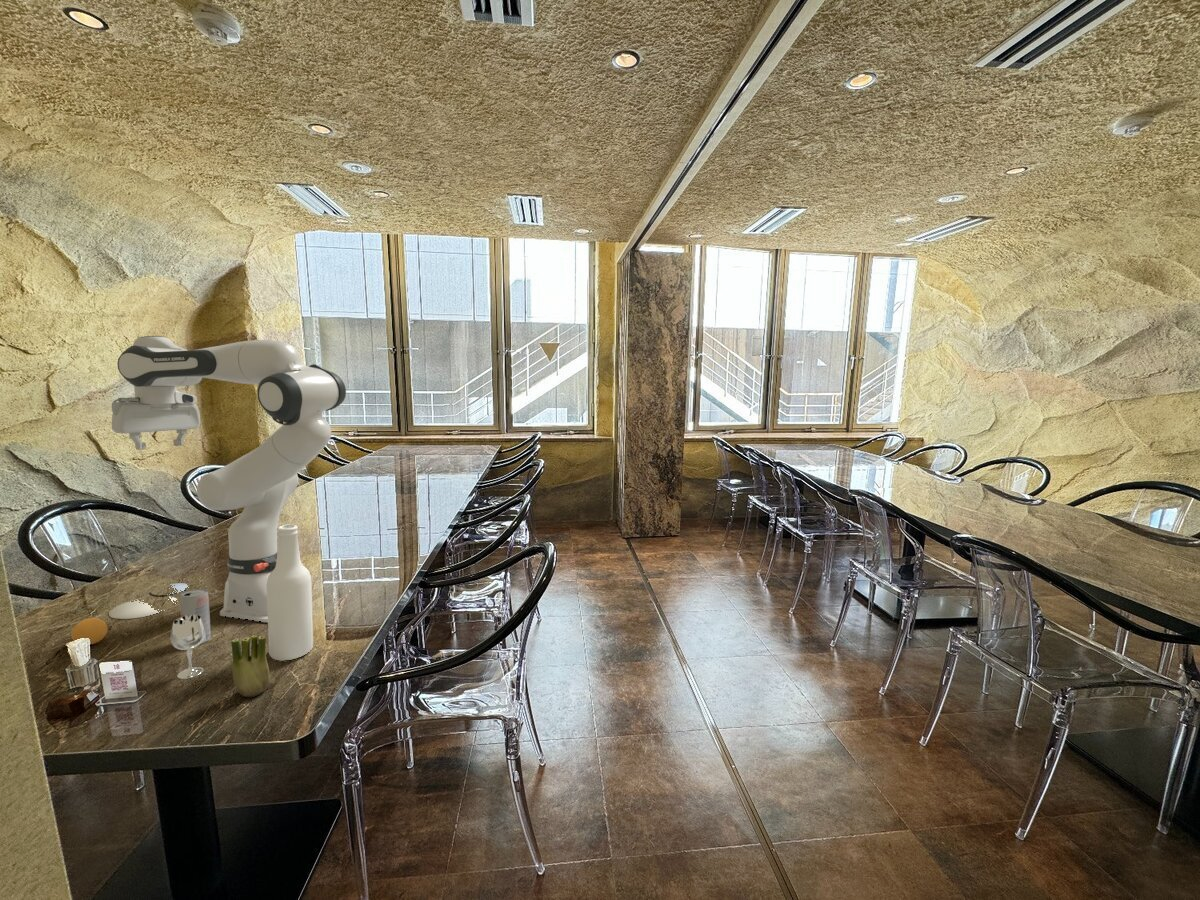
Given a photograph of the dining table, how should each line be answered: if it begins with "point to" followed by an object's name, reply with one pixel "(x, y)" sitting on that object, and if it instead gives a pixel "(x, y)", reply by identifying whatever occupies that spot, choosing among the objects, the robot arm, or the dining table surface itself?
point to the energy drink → (197, 607)
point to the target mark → (134, 610)
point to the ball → (90, 630)
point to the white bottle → (289, 600)
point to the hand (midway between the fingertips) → (160, 447)
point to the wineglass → (188, 640)
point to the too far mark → (179, 587)
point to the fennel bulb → (250, 666)
